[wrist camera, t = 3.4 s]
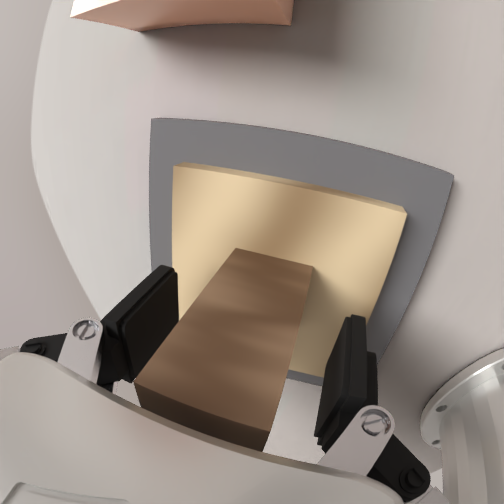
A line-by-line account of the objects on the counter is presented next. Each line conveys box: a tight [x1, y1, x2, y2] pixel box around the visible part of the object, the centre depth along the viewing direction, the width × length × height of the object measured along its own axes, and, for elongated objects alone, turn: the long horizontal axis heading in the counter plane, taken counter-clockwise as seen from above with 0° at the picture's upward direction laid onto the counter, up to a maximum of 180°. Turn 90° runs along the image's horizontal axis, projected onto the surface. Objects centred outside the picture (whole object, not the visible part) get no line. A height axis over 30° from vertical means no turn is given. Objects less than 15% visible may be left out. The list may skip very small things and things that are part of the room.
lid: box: [133, 162, 407, 452], centre depth 11 cm, size 10×10×9 cm
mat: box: [149, 118, 454, 386], centre depth 15 cm, size 14×14×1 cm
